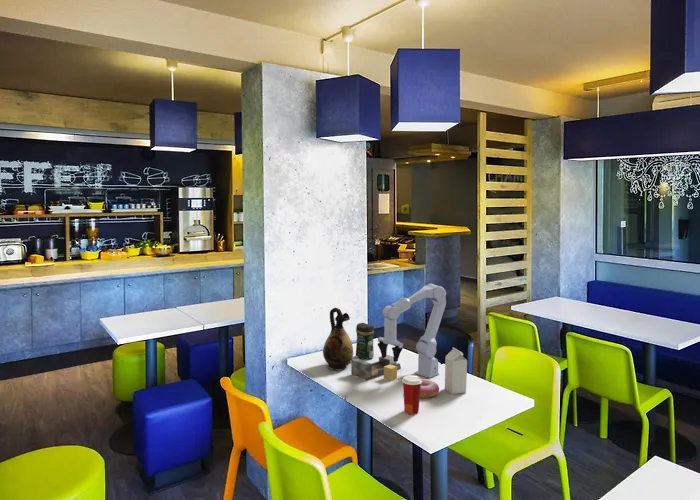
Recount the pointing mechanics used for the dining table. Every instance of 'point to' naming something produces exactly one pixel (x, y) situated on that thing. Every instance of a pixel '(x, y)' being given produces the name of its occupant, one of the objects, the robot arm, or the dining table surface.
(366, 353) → the coffee jar
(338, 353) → the ceramic jug
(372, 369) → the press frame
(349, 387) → the dining table surface
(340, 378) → the dining table surface
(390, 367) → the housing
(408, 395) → the paper cup
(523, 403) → the dining table surface
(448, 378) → the milk carton
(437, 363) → the robot arm
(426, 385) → the donut
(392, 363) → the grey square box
